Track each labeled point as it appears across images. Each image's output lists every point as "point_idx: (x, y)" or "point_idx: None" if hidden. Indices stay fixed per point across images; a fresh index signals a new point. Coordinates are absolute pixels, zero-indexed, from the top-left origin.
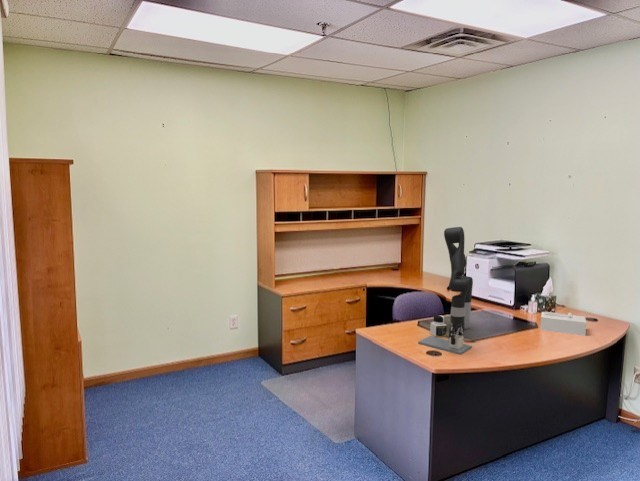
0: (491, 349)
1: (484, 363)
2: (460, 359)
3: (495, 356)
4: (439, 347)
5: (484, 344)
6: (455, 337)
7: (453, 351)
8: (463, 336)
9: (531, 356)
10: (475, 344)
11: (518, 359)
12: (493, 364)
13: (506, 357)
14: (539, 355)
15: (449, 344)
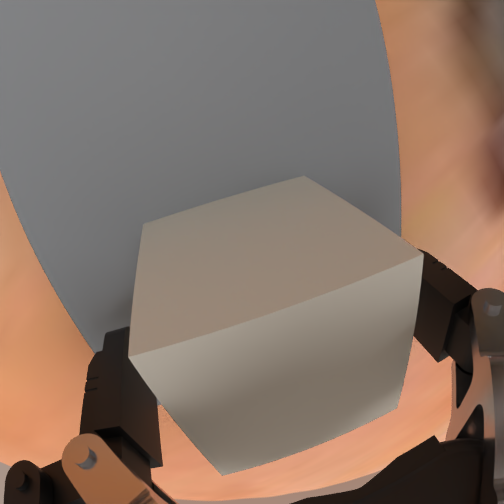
0: (429, 366)
1: (182, 488)
2: (73, 434)
3: (331, 446)
4: (1, 163)
5: (489, 282)
6: (209, 440)
7: (96, 347)
8: (392, 405)
9: (421, 441)
10: (469, 253)
11: (363, 465)
12: (215, 496)
13: (355, 453)
14: (442, 433)
15: (141, 242)
